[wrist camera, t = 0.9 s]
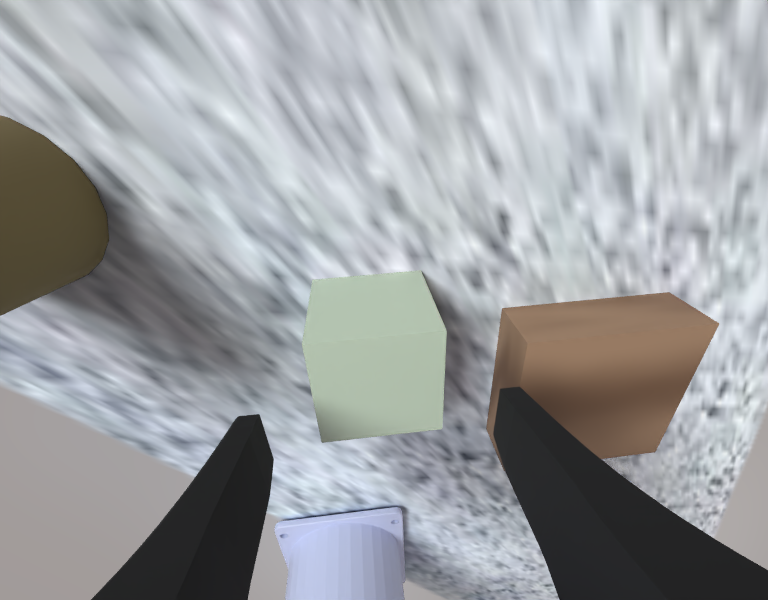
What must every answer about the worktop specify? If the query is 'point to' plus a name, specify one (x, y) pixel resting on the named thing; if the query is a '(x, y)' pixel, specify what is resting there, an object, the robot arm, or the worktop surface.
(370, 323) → the sage cube
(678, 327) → the walnut block
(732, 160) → the worktop surface
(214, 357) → the worktop surface
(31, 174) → the cork
